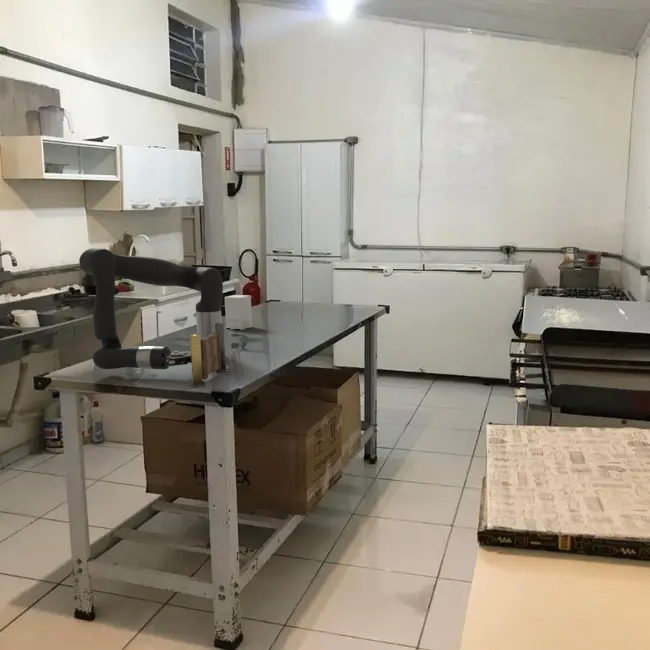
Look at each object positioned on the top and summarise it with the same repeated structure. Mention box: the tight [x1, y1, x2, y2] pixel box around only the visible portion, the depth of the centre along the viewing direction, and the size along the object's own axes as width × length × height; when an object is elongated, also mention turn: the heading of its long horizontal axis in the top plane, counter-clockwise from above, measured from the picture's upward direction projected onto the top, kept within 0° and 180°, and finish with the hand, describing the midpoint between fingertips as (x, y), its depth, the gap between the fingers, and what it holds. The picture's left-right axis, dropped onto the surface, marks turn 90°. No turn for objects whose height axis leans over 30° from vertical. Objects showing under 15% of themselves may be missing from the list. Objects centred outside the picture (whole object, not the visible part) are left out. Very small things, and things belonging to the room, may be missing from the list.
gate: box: [200, 332, 221, 380], centre depth 226 cm, size 17×2×13 cm, turn 168°
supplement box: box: [223, 294, 253, 331], centre depth 319 cm, size 9×9×15 cm
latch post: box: [189, 333, 206, 387], centre depth 216 cm, size 4×4×16 cm
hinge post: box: [215, 322, 231, 372], centre depth 236 cm, size 5×5×16 cm
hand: (203, 358), depth 225 cm, fingers closed
